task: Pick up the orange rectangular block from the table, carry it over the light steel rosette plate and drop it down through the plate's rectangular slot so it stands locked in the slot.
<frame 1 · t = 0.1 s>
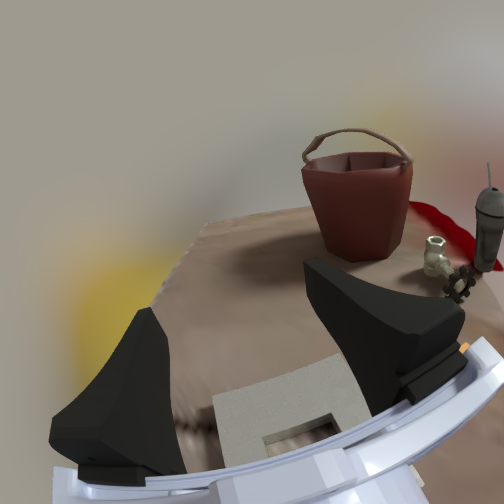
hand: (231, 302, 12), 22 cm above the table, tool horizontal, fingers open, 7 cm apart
valve: (441, 284, 39), on the table
bucket: (364, 242, 58), on the table
rosette plate: (307, 454, 22), on the table
beverage cup: (483, 267, 38), on the table
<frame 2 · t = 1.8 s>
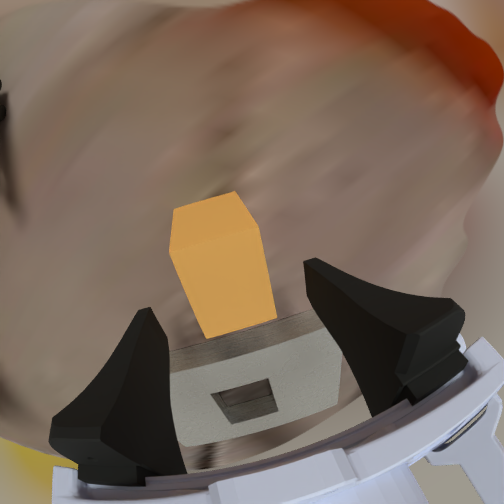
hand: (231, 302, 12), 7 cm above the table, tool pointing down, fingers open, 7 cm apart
rosette plate: (242, 385, 26), on the table
orange rectangular block: (215, 237, 18), on the table
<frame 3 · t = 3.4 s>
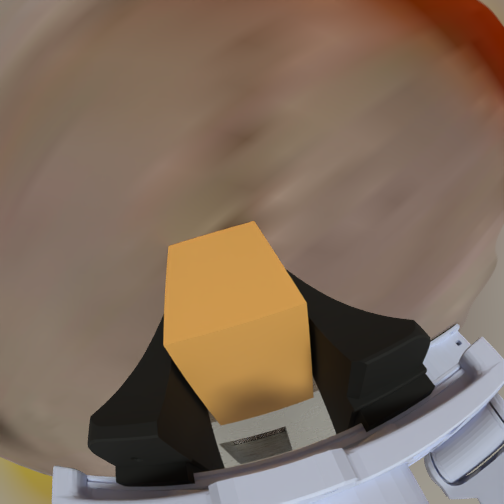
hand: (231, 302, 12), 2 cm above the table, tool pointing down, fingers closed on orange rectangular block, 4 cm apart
rosette plate: (253, 426, 22), on the table
orange rectangular block: (226, 282, 13), on the table, touching gripper
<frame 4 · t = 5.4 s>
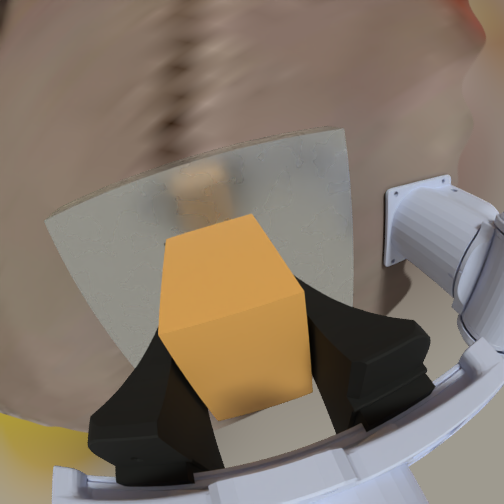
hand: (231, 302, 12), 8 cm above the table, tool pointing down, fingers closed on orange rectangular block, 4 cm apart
rosette plate: (217, 261, 21), on the table
orange rectangular block: (224, 276, 13), point 7 cm above the table, touching gripper
when the fingers open (4 cm above the table, at t = 7.5 s): orange rectangular block drops 2 cm, resting in rosette plate.
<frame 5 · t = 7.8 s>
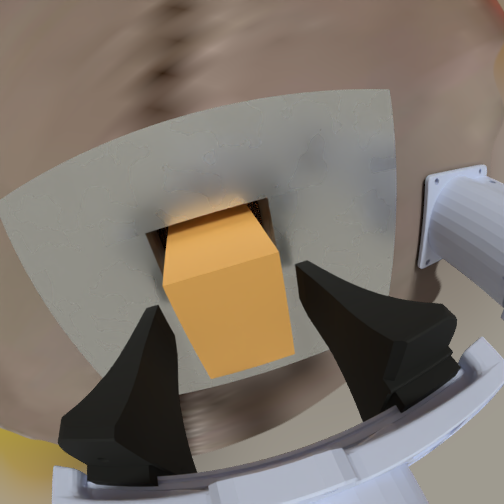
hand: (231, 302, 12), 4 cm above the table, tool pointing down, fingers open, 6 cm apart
rosette plate: (220, 259, 15), on the table
orange rectangular block: (218, 254, 15), resting in rosette plate
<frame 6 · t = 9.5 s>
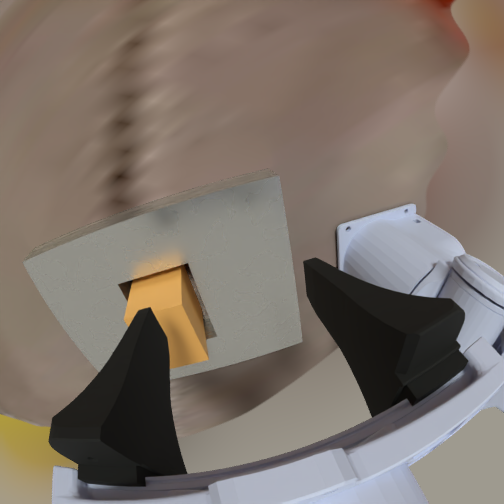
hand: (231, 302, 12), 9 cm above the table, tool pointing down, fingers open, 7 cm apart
rosette plate: (170, 294, 22), on the table
orange rectangular block: (169, 290, 22), resting in rosette plate
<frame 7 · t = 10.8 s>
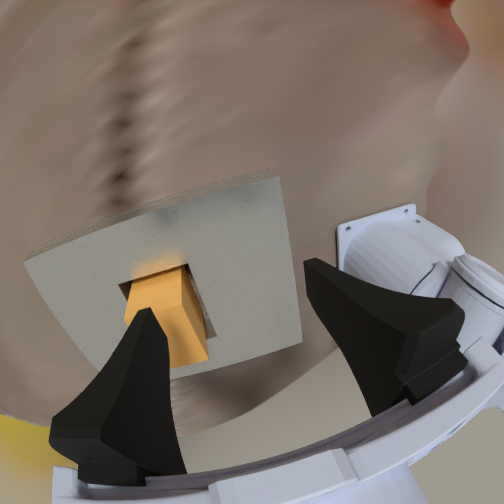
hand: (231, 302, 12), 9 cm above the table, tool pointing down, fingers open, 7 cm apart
rosette plate: (170, 294, 22), on the table
orange rectangular block: (169, 290, 22), resting in rosette plate
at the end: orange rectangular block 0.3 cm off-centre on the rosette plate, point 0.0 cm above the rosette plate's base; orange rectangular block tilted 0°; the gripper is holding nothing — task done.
